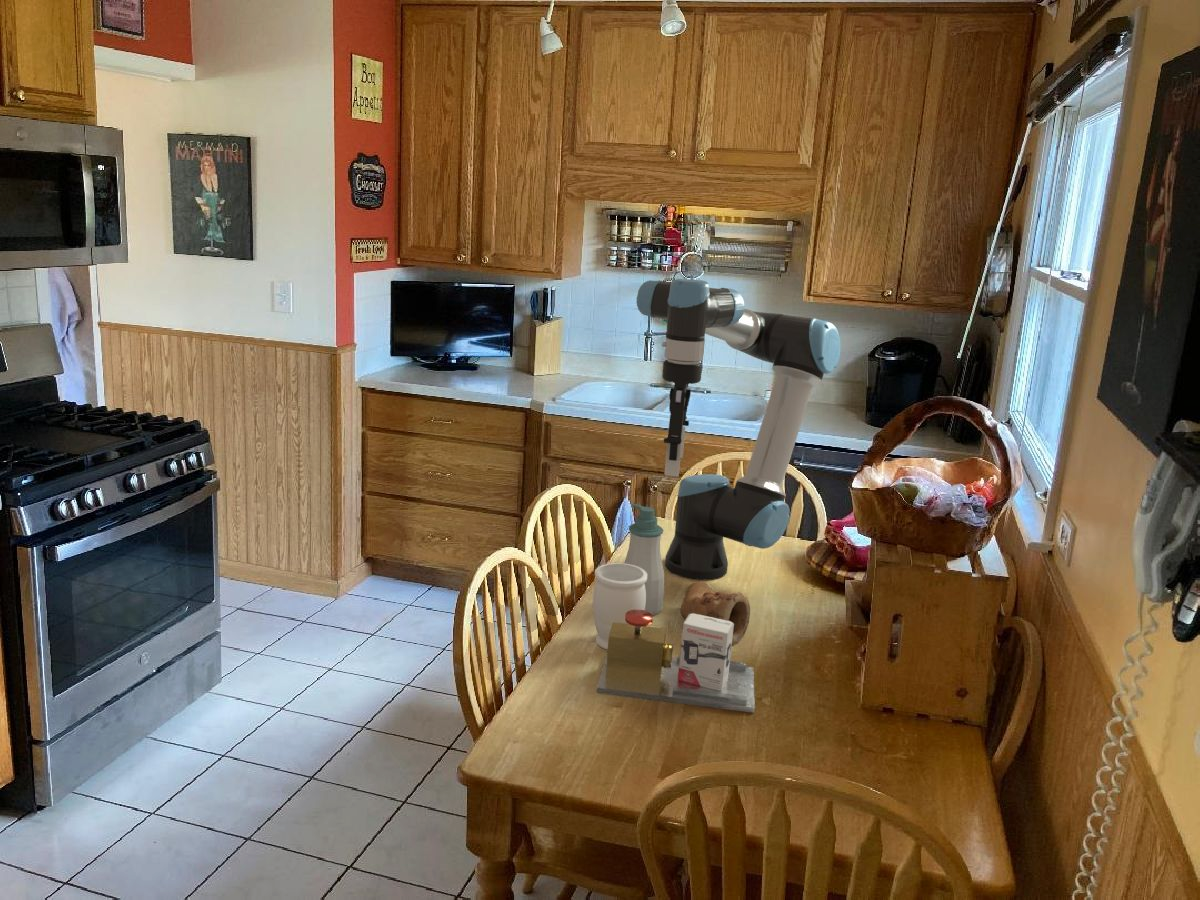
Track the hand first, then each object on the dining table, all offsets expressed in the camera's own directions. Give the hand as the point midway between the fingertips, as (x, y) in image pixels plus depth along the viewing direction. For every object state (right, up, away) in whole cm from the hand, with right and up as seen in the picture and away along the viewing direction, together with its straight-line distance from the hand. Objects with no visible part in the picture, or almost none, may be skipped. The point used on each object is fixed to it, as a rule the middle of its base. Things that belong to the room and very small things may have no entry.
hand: (673, 466), depth 188 cm
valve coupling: (0, -40, -14) cm, 42 cm away
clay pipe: (+9, -35, +9) cm, 37 cm away
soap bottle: (-6, -31, +16) cm, 36 cm away
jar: (-11, -35, +1) cm, 37 cm away
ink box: (+4, -39, -14) cm, 42 cm away
